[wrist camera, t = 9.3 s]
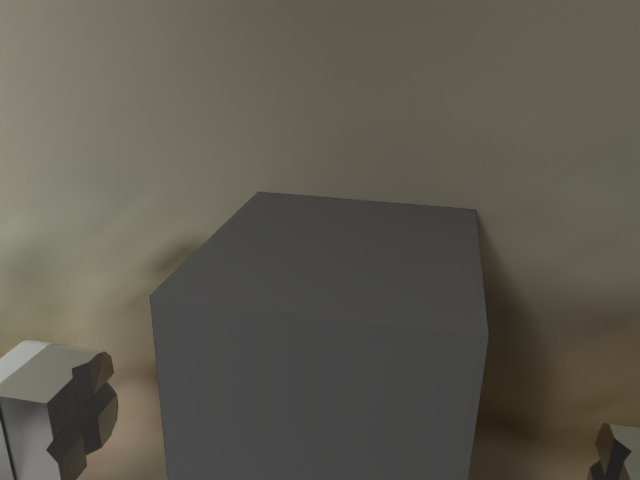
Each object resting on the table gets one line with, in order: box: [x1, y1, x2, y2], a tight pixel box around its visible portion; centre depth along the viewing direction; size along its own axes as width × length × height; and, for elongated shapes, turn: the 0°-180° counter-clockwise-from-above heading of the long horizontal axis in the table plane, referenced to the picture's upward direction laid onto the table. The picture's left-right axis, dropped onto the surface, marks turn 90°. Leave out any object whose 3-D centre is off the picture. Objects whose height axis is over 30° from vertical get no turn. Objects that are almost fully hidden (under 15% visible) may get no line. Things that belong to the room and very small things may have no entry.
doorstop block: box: [150, 192, 489, 480], centre depth 10 cm, size 6×4×4 cm, turn 179°
